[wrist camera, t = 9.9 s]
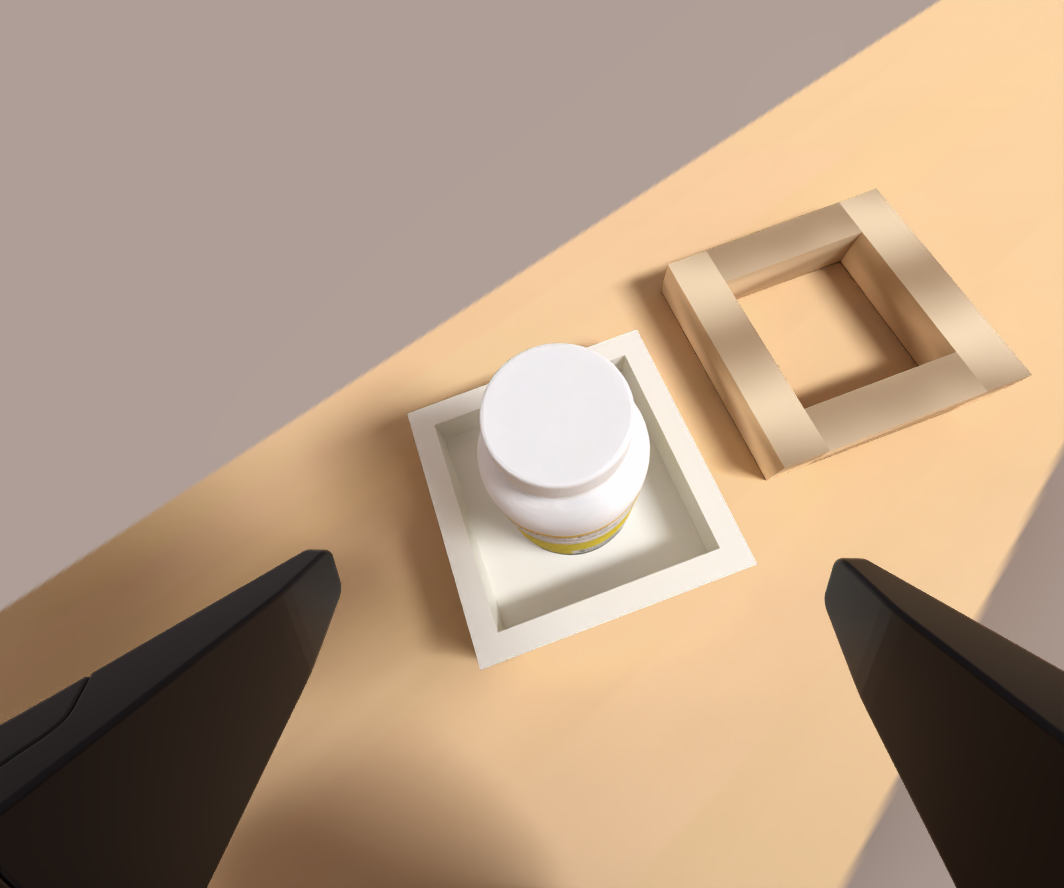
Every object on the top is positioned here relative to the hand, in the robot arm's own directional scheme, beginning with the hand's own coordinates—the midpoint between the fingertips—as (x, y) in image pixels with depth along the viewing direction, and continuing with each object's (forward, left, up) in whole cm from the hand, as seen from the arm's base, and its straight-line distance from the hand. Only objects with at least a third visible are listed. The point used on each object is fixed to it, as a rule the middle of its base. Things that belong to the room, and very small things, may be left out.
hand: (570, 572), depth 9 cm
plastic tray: (+4, -1, -12) cm, 13 cm away
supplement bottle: (+4, -1, -12) cm, 13 cm away
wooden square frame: (+7, -15, -12) cm, 21 cm away
